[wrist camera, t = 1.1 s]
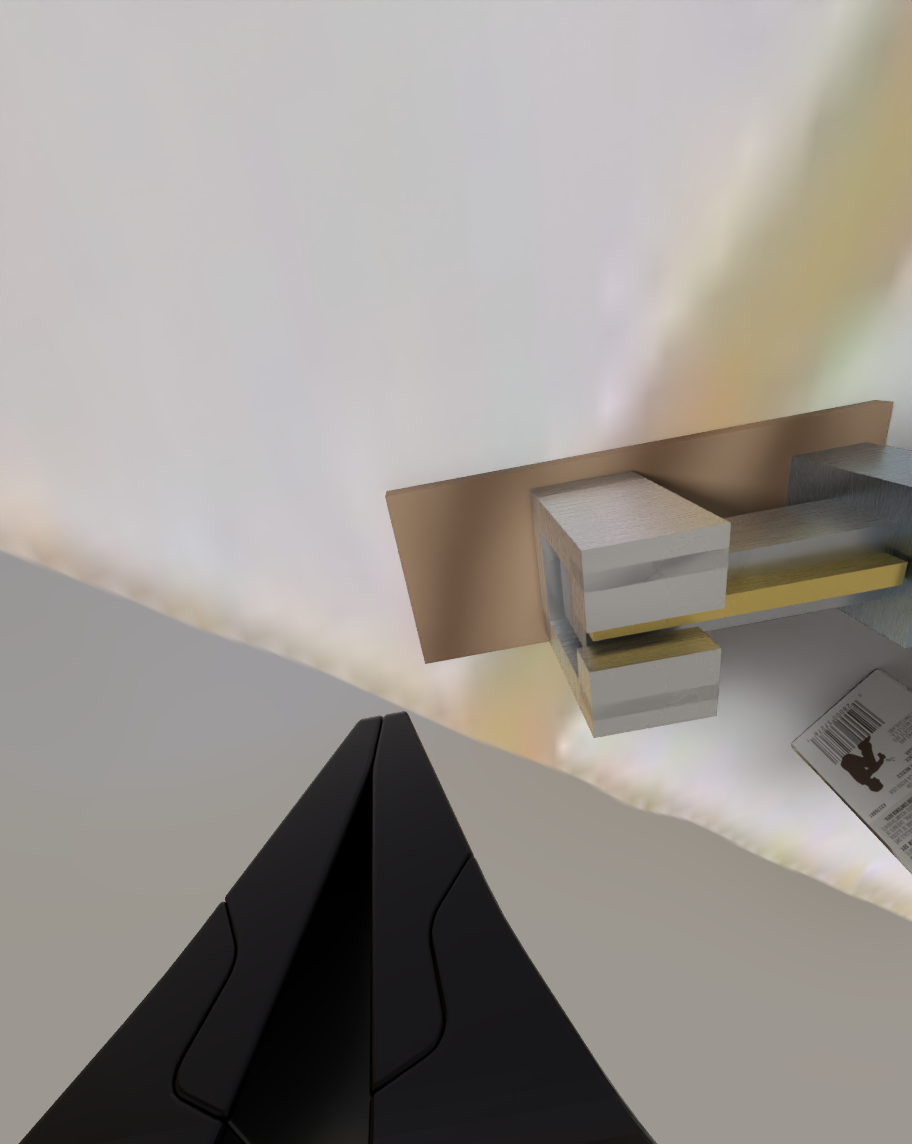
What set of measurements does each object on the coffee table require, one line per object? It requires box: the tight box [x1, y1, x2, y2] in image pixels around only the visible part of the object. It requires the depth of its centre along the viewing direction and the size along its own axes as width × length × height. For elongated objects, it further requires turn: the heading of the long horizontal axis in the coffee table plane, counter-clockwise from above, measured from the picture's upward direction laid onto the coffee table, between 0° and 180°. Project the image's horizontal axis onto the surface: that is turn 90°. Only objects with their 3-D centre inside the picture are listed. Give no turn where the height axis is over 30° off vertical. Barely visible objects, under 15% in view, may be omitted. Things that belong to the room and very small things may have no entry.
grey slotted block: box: [530, 470, 731, 738], centre depth 17 cm, size 4×7×7 cm, turn 10°
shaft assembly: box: [560, 442, 912, 648], centre depth 17 cm, size 13×5×6 cm, turn 100°
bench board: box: [385, 400, 893, 664], centre depth 20 cm, size 20×8×1 cm, turn 100°
